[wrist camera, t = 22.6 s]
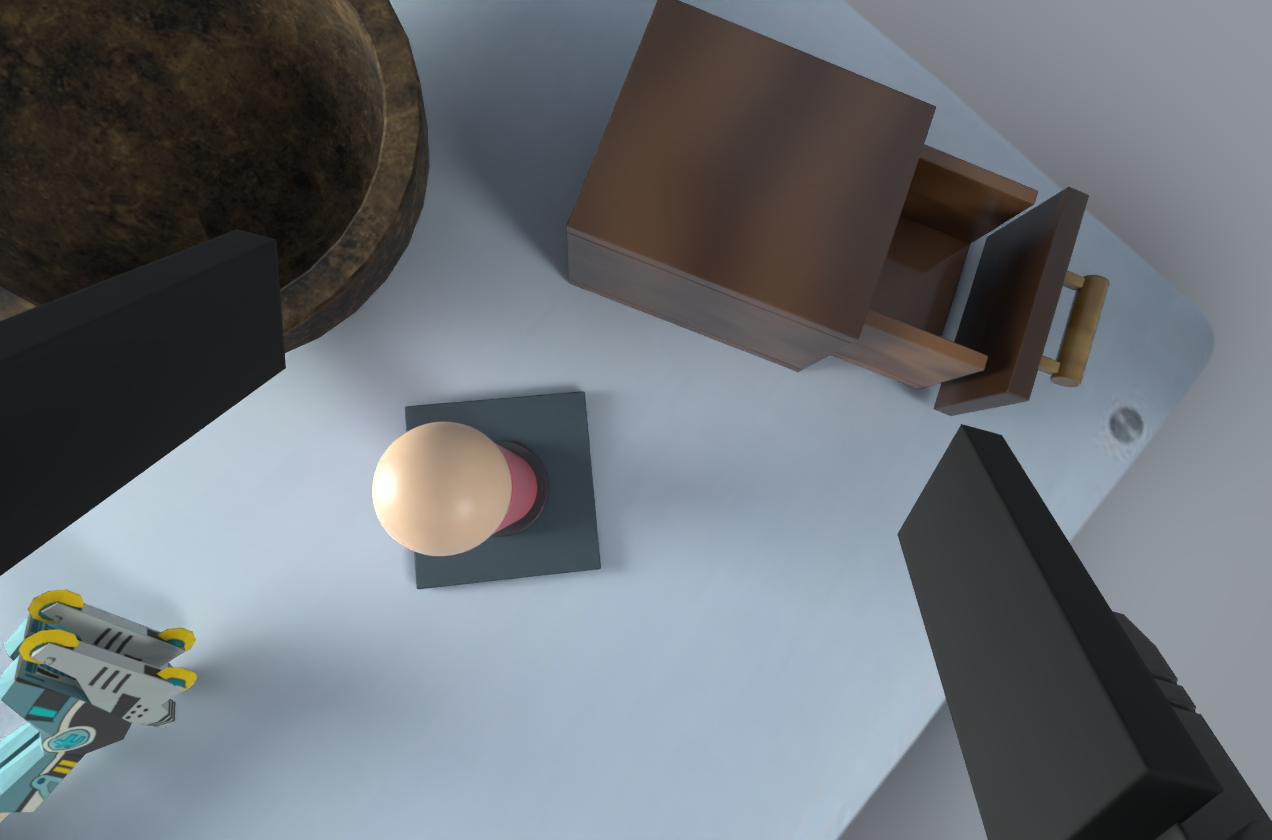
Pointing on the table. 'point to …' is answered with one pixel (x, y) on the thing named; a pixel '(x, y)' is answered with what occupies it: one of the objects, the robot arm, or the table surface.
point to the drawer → (978, 289)
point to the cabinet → (745, 189)
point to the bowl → (208, 144)
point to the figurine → (80, 690)
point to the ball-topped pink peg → (456, 488)
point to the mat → (569, 513)
